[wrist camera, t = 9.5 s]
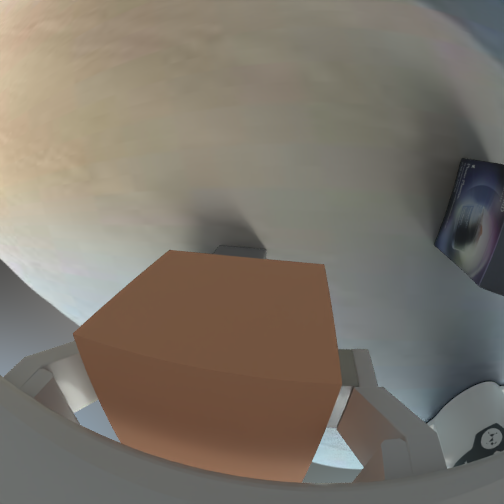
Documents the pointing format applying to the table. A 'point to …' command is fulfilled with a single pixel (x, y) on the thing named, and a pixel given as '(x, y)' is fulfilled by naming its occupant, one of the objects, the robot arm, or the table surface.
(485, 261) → the small box
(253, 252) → the charcoal block
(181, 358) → the terracotta block
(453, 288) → the table surface
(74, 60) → the table surface
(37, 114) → the table surface
